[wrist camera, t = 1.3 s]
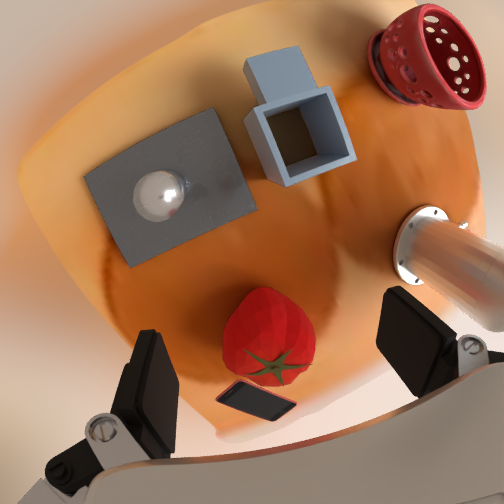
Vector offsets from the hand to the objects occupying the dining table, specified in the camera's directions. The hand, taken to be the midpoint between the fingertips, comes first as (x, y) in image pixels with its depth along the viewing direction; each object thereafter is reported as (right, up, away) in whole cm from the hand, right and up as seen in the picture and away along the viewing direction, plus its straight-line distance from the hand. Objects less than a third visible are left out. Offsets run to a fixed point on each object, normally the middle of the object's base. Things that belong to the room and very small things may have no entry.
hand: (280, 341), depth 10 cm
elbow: (+2, +18, +17) cm, 25 cm away
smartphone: (0, -22, +32) cm, 39 cm away
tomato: (0, -5, +26) cm, 26 cm away
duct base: (-10, +10, +18) cm, 23 cm away
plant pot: (+19, +28, +16) cm, 38 cm away
